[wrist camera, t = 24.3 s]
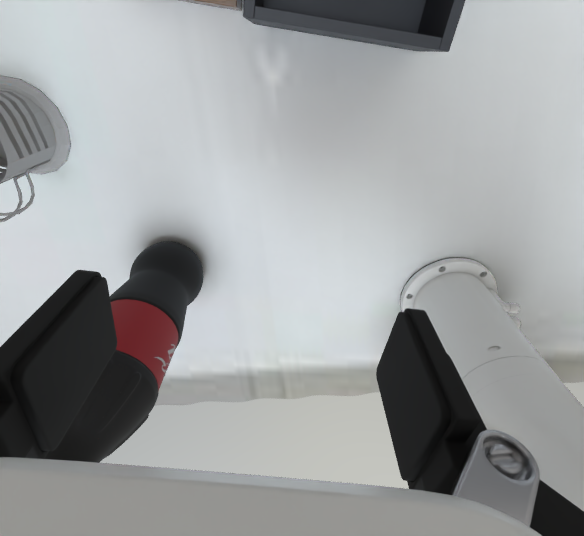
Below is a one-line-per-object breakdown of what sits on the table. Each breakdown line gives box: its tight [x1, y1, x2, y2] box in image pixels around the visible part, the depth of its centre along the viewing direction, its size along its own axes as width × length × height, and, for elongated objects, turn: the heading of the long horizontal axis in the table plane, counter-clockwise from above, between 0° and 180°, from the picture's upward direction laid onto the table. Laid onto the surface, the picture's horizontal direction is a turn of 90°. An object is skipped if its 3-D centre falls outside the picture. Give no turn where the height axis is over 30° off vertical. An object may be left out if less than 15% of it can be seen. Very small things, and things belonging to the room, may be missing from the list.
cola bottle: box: [45, 242, 203, 463], centre depth 33 cm, size 8×8×30 cm
